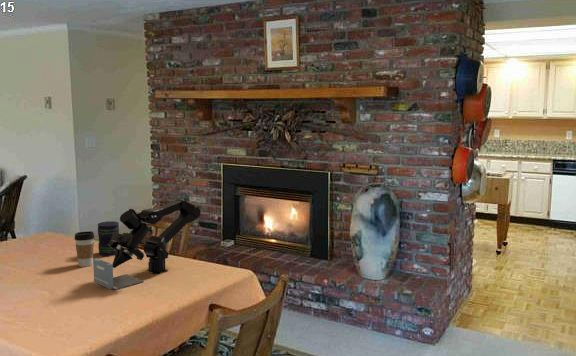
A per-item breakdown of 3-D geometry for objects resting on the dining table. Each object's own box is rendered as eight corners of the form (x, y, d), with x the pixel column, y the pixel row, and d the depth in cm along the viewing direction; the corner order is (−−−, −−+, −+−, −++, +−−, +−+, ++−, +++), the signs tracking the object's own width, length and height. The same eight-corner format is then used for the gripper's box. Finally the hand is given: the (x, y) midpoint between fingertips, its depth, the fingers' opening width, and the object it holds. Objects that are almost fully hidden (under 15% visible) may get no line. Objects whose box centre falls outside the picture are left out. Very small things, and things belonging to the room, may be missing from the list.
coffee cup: (88, 268, 225) (87, 235, 223) (71, 266, 227) (70, 234, 225) (99, 262, 233) (98, 230, 231) (82, 261, 235) (81, 229, 233)
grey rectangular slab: (97, 281, 205) (96, 258, 204) (113, 287, 198) (112, 264, 197) (93, 282, 204) (92, 259, 203) (109, 289, 196) (108, 265, 195)
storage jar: (104, 250, 254) (103, 220, 252) (123, 251, 253) (122, 221, 251) (94, 255, 244) (93, 225, 242) (113, 256, 243) (112, 226, 241)
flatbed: (126, 275, 216) (126, 273, 216) (143, 282, 208) (143, 280, 208) (97, 282, 206) (97, 281, 206) (115, 290, 198) (115, 288, 198)
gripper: (111, 221, 211) (87, 252, 204) (136, 228, 199) (112, 261, 192) (128, 236, 218) (105, 266, 211) (154, 243, 206) (130, 276, 199)
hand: (112, 267), depth 203 cm, fingers closed
